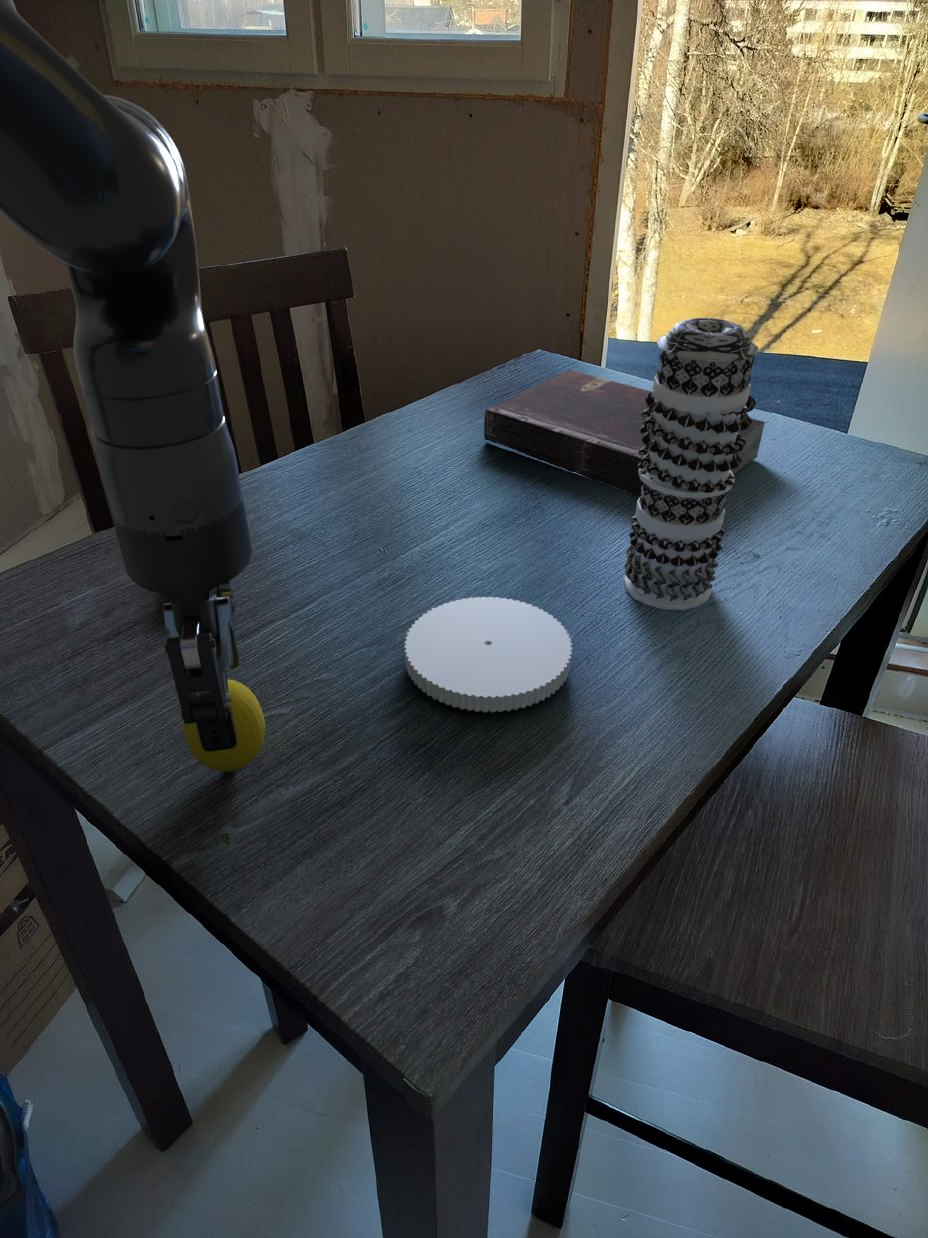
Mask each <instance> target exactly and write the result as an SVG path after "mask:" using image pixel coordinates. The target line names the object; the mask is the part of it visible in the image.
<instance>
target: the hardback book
mask: <svg viewBox="0 0 928 1238" xmlns="http://www.w3.org/2000/svg"><path fill="white" fill-rule="evenodd" d="M649 393H651V397H654V396H653V393H652V391H651V390H647V389H644V388H640V387H637V386H632V385H629V384H624V383H621V382H617V381H613V380H609V379H607V378H602V377H598V376H595V375H591V374H587V373H584V372H580V371H576V370H572V369H568V370H565V371H563V372H561V373H559V374H557V375H554V376H552V377H550V378H549V379H546V380H544V381H542V382H540V383H538V384H536V385H534V386H531V387H530V388H528V389H526V390H524V391H521V392H519V393H517V394H515V395H513V396H510V397H509V398H507V399H505V400H502V401H500V402H499V403H496V404H494V405H492V406H490V407H488V408H486V409H485V413H484V420H483V421H484V422H483V423H484V424H483V425H484V426H483V436H484V438H483V439H484V440H485V439H486V440H489V441H491V442H494V443H498V444H501V445H504V446H506V447H509V448H512V449H515V450H517V451H519V452H522V453H525V454H526V455H529V456H532V457H534V458H537V459H539V460H543V461H545V462H548V463H550V464H553V465H555V466H558V467H561V468H564V469H566V470H568V471H571V472H576V473H578V474H581V475H583V476H585V477H588V478H590V479H592V480H591V481H593V480H595V481H594V482H596V481H598V482H597V483H599V482H602V483H604V484H603V485H605V484H608V485H610V486H613V487H616V488H619V489H621V490H620V491H622V490H625V491H627V492H626V493H628V492H629V493H628V494H631V493H632V494H631V495H633V494H634V496H636V495H637V497H639V496H641V485H642V482H643V481H642V480H641V479H640V476H639V473H638V470H639V467H637V466H638V464H639V463H640V459H641V456H640V455H639V450H640V448H642V447H643V442H642V440H641V436H642V435H643V434H642V433H641V432H640V429H641V427H642V426H643V425H644V420H645V419H644V418H643V417H642V412H643V410H645V409H646V404H647V403H646V402H645V396H646V395H647V394H649ZM654 399H655V398H654ZM650 416H653V414H652V413H650ZM750 418H751V417H750ZM751 419H752V423H751V424H750V425H749V428H748V429H746V430H742V431H738V432H737V433H739V434H740V435H741V436H742V438H744V439H745V440H746V444H745V446H744V448H743V450H742V451H739V452H737V453H738V454H739V456H740V457H741V458H742V462H741V463H740V464H739V467H737V468H735V469H731V471H732V473H733V475H734V476H735V475H736V474H737V473H738V472H740V471H741V470H742V469H743V468H745V467H746V466H748V465H749V464H750V463H751V462H753V461H754V460H755V459H756V458H758V455H759V450H760V446H761V441H762V436H763V431H764V428H765V423H766V422H765V421H763V420H758V419H755V418H751ZM649 431H651V429H649ZM649 431H648V432H649ZM647 453H648V450H647ZM590 479H589V480H590ZM602 483H601V484H602ZM610 486H609V487H610ZM613 487H612V488H613ZM616 488H615V489H616ZM619 489H618V490H619ZM625 491H624V492H625Z"/></svg>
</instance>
